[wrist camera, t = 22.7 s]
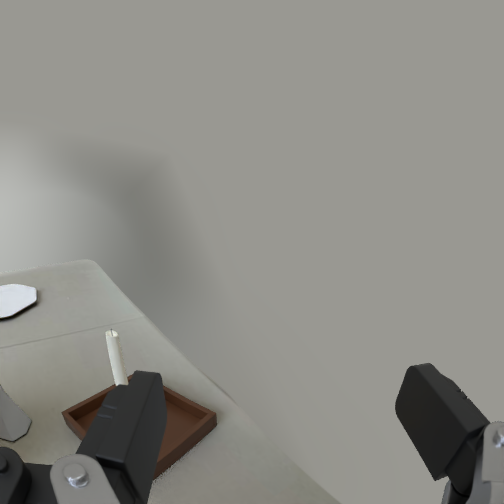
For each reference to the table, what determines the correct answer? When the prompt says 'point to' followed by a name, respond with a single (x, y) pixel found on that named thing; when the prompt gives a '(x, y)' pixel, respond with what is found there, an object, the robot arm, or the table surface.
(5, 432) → the flask
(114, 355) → the candle
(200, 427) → the tray
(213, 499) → the table surface
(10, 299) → the plate
